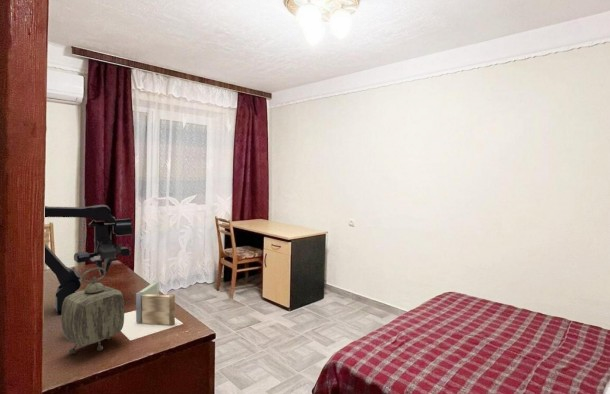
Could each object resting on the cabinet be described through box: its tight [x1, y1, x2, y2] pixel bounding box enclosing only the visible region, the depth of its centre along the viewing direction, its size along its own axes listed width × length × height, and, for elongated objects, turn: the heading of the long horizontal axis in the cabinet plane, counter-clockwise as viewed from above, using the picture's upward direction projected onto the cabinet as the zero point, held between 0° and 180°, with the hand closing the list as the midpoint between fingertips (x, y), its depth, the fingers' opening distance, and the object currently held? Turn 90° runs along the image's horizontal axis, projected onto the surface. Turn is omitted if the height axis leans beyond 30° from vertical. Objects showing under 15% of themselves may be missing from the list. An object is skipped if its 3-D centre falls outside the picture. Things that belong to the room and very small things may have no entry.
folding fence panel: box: [135, 280, 160, 323], centre depth 126 cm, size 14×2×10 cm, turn 178°
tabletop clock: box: [60, 266, 125, 355], centre depth 102 cm, size 14×9×25 cm, turn 150°
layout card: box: [120, 309, 184, 341], centre depth 122 cm, size 18×23×1 cm
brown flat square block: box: [141, 294, 176, 326], centre depth 120 cm, size 12×2×11 cm, turn 86°
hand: (103, 275), depth 136 cm, fingers closed
